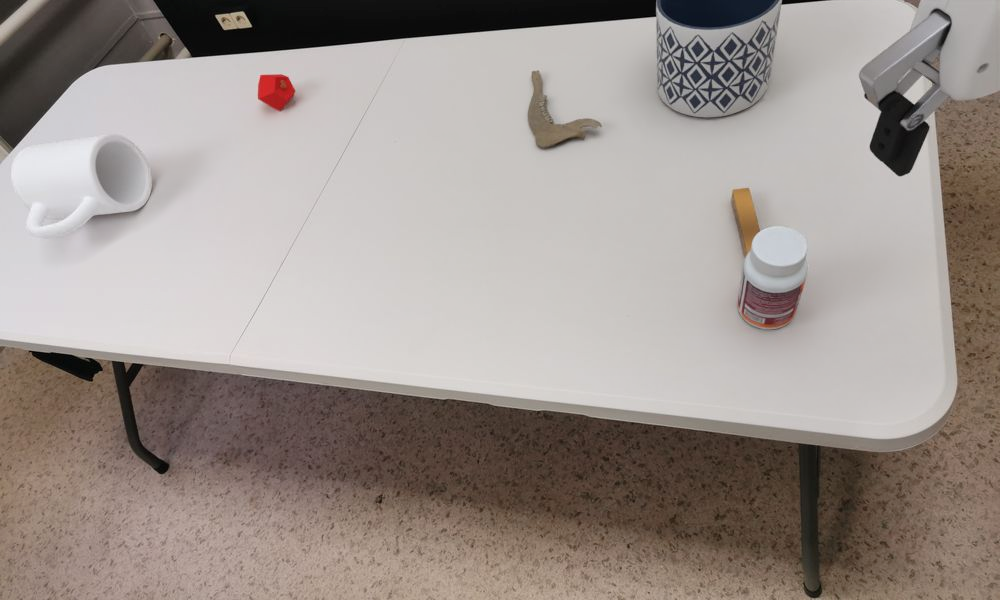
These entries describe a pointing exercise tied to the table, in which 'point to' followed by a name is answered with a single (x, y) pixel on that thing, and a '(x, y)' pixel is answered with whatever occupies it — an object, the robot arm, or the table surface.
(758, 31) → the planter
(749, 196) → the fry stick
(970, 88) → the robot arm
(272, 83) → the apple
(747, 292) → the pill bottle
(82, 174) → the mug
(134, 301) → the table surface
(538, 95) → the jawbone
